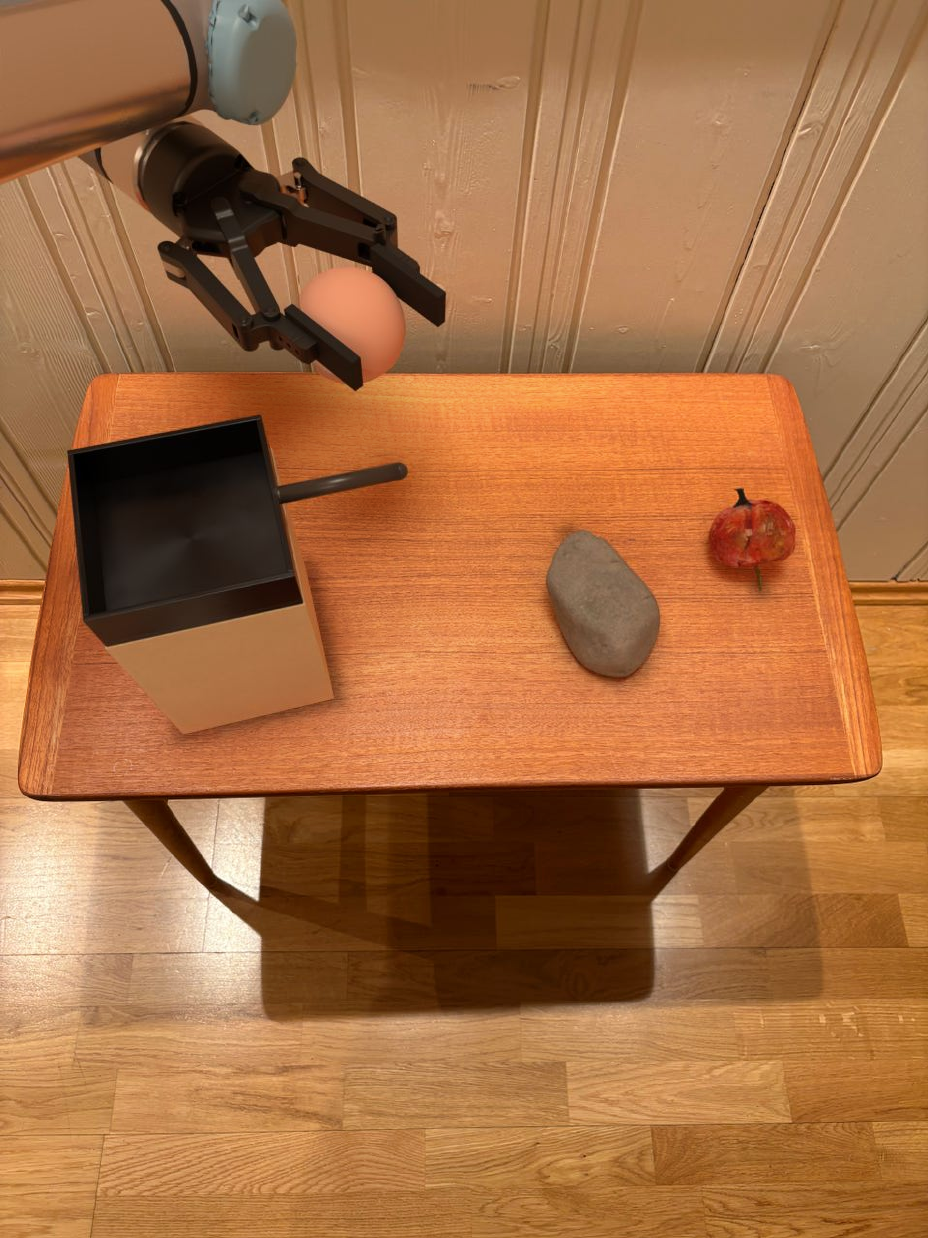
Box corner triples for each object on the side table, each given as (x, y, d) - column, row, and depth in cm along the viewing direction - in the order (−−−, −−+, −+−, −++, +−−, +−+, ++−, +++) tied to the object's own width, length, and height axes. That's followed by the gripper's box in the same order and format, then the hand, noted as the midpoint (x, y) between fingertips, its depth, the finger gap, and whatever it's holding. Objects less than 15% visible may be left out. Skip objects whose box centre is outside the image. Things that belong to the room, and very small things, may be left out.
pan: (106, 647, 54) (82, 621, 50) (89, 484, 59) (66, 449, 55) (430, 575, 57) (431, 545, 53) (388, 426, 62) (385, 389, 58)
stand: (183, 735, 71) (104, 649, 54) (164, 600, 76) (87, 483, 59) (334, 698, 73) (305, 604, 56) (306, 570, 78) (272, 447, 61)
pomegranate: (781, 575, 82) (769, 474, 80) (816, 590, 75) (805, 480, 73) (707, 591, 82) (693, 491, 80) (736, 608, 75) (722, 498, 73)
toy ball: (293, 335, 64) (276, 251, 57) (390, 315, 65) (386, 230, 58) (317, 417, 61) (302, 339, 54) (419, 394, 62) (418, 315, 55)
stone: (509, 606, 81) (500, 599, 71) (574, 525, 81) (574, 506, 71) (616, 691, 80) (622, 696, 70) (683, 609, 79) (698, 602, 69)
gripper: (290, 156, 69) (496, 304, 63) (86, 283, 62) (296, 463, 57) (275, 63, 62) (505, 219, 57) (45, 195, 56) (279, 388, 50)
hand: (400, 341), depth 57 cm, fingers closed on toy ball, 7 cm apart
